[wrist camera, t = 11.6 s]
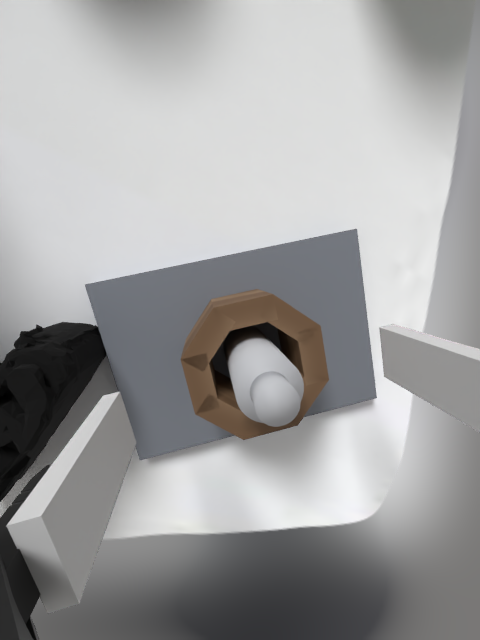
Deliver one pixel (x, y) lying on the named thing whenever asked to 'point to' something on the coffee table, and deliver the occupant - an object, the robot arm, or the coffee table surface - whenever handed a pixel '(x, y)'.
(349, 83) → the coffee table surface
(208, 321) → the collar
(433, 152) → the coffee table surface
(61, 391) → the film camera
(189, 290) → the post board
